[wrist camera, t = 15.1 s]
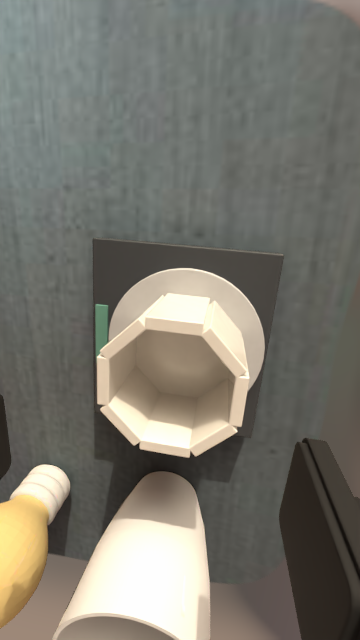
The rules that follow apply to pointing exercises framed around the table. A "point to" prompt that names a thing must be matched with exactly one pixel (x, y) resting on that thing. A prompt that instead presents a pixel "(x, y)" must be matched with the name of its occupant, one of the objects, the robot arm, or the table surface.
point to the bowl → (175, 377)
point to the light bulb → (27, 535)
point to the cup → (146, 570)
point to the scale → (187, 279)
